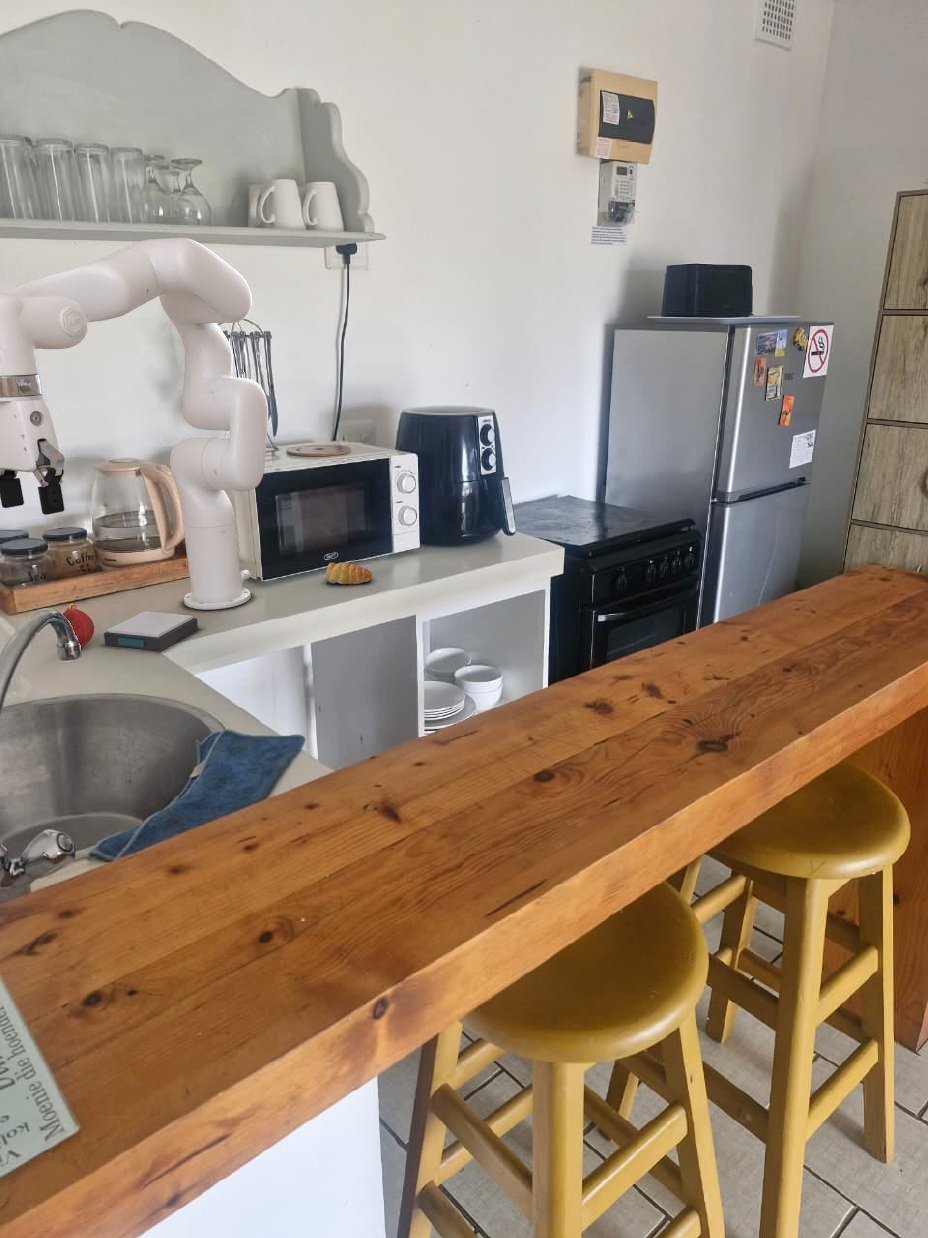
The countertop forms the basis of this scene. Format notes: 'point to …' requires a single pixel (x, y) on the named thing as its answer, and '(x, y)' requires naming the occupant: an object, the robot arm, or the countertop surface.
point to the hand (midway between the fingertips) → (33, 509)
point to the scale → (151, 631)
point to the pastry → (347, 573)
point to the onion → (80, 624)
